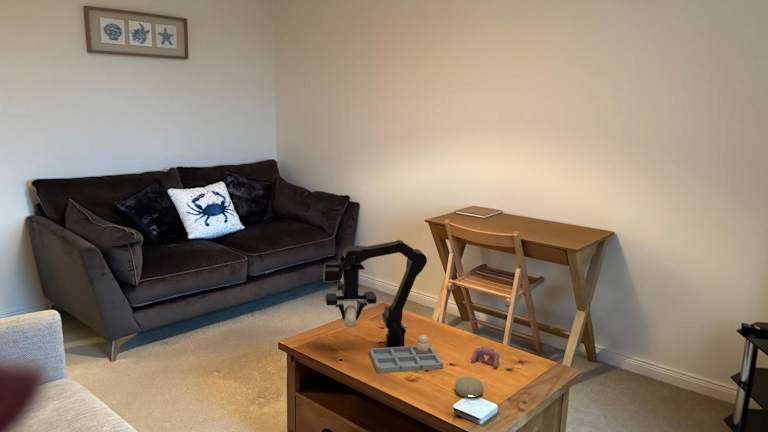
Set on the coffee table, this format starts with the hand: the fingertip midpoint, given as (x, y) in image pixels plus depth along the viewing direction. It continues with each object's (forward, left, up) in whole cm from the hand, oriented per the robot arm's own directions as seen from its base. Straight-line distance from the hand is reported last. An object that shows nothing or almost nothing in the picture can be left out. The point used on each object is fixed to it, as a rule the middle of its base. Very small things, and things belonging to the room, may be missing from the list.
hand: (350, 319), depth 223 cm
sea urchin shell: (-34, +38, -12) cm, 52 cm away
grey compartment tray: (-19, +13, -12) cm, 26 cm away
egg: (0, 0, -2) cm, 2 cm away
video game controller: (-47, +19, -12) cm, 53 cm away
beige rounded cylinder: (-26, +9, -12) cm, 30 cm away
